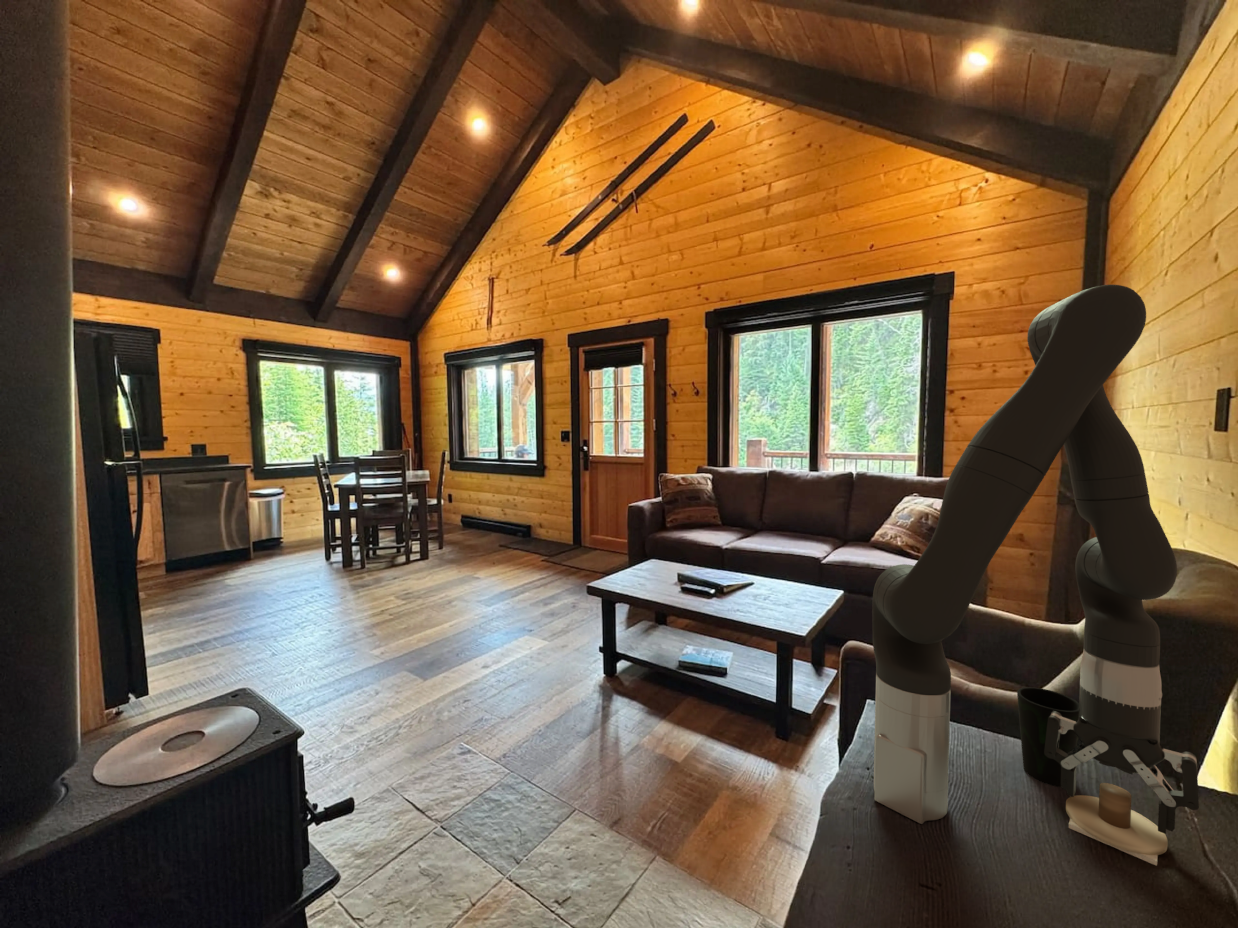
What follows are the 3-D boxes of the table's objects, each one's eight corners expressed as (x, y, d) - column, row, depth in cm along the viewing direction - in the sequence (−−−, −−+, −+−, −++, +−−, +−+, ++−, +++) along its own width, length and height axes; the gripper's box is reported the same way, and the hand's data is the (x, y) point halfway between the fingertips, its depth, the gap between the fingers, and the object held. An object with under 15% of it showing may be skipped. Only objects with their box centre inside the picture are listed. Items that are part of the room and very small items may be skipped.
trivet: (1156, 865, 60) (1157, 860, 60) (1068, 827, 66) (1068, 823, 66) (1159, 832, 65) (1159, 828, 65) (1077, 800, 71) (1077, 796, 71)
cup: (1054, 761, 81) (1056, 688, 80) (1094, 793, 73) (1097, 713, 73) (1003, 757, 81) (1005, 685, 81) (1037, 789, 74) (1040, 710, 73)
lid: (1166, 868, 59) (1167, 828, 59) (1060, 822, 66) (1061, 787, 66) (1168, 828, 65) (1169, 793, 65) (1071, 791, 73) (1072, 758, 72)
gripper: (1042, 679, 68) (1039, 795, 69) (1202, 722, 57) (1197, 859, 58) (1052, 664, 73) (1049, 772, 74) (1201, 701, 62) (1196, 827, 63)
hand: (1114, 810), depth 66 cm, fingers open, 8 cm apart
